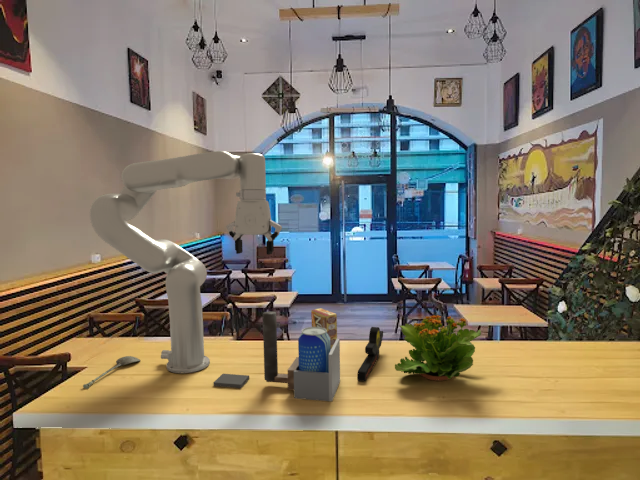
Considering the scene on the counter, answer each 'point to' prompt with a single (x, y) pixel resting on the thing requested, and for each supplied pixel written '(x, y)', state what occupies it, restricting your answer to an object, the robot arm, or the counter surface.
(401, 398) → the counter surface
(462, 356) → the potted flower
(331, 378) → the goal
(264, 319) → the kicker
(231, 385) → the gray rectangular plate
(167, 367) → the robot arm
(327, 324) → the candy box
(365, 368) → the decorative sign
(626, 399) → the counter surface
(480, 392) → the counter surface
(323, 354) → the beer can
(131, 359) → the soupspoon
